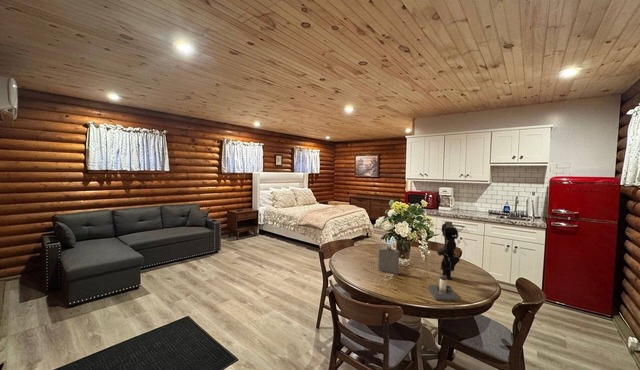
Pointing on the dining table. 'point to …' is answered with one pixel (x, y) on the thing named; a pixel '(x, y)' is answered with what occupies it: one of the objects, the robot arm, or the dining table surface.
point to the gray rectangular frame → (443, 293)
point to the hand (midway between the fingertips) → (448, 267)
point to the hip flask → (388, 260)
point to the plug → (443, 283)
